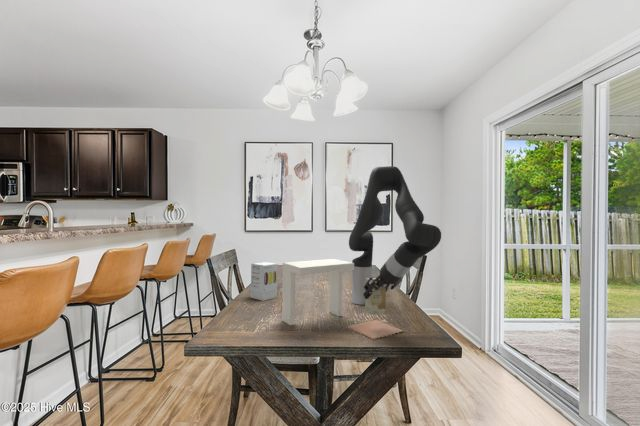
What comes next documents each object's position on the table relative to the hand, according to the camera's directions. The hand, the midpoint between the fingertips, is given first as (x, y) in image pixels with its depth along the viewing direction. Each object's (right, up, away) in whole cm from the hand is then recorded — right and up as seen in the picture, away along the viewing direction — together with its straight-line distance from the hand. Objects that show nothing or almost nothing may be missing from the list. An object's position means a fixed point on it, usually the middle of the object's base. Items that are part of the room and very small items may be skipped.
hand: (372, 295), depth 126 cm
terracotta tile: (+1, -12, -1) cm, 12 cm away
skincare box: (+1, -6, -1) cm, 6 cm away
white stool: (-20, -12, +9) cm, 25 cm away
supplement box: (-47, -12, +43) cm, 65 cm away
